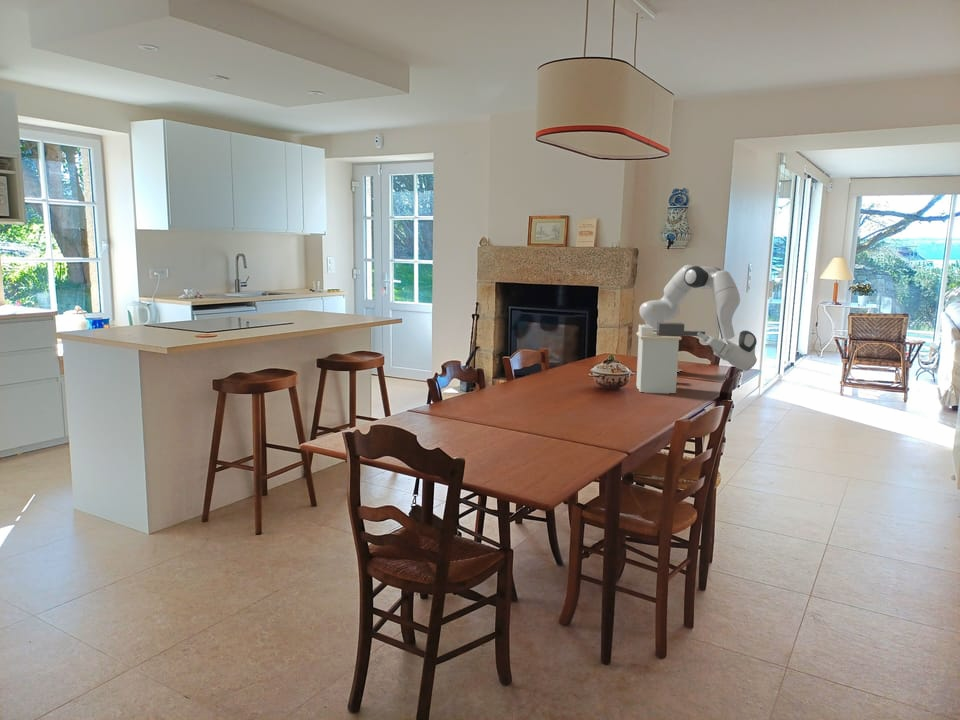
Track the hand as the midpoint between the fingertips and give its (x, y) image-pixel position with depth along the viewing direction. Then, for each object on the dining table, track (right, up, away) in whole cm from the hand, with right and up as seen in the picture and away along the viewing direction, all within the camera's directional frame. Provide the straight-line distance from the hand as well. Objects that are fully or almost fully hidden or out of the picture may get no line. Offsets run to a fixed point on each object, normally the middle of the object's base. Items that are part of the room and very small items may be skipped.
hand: (696, 332), depth 314 cm
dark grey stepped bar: (-8, -1, +1) cm, 8 cm away
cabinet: (-17, -27, +6) cm, 32 cm away
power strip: (-23, -1, +3) cm, 23 cm away
